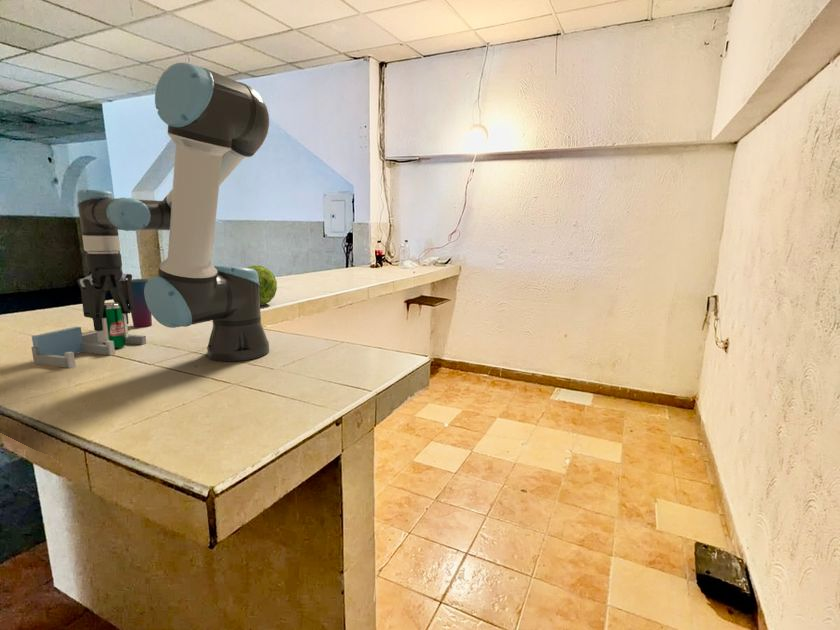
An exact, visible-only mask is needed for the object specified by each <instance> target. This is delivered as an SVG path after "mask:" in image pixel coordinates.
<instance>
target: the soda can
mask: <svg viewBox="0 0 840 630" xmlns="http://www.w3.org/2000/svg"><path fill="white" fill-rule="evenodd" d="M103 318H106V320H107V328H108V336H109V341H114V349H115V350H118V349H122V348H125V347H126V345H127V343H126V340H125V332H124V324H123V315H122V307H121V306H120V305H119V303H116V302H114V301H113V302H105V304H104V312H103ZM103 345H106V343H103Z"/></svg>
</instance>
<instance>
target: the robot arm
mask: <svg viewBox="0 0 840 630" xmlns="http://www.w3.org/2000/svg"><path fill="white" fill-rule="evenodd" d="M154 106H155V108H156V109H157V115H158V116H159V118H160V119H161V120H162V121H163V122H164V123H165V125H167V135H168V137H169V138H170V139H171V140H172V141H173V143H174V145H175V147H174V148H175V149H174V150H175V151H174V165H173V179H172V180H173V181H172V189H171V190H170V191H169V192H168V193H167V195H166V196H165V197H164V198H163V199H162V200H151V199H139V198H138V199H135V198H132V197H119V198H115V195H114V193H113V192H112V191H109V190H102V189H101V190H100V189H79V190H78V191H77V195H76V196H77V205H76V206H77V208H78V214H79V215H78V216H79V223H80V230H81V235H82V243H83V251H85V252H86V253H85V254H84V259H85V260H84V261H85V266H86V267H87V269H88V273H87V276H86V277H83V278H78V279H77V280H76V281H77V284H78V286H79V288H80V293H81V302H82V303H81V304H82V312H83V316H84V318H89V319H92V323H93V329H94V332H96V331H97V336H98V342H101V343H105V342H106V341H109V336H108V328H107V320H106V318H103V312H104V304H105V303H106V294H107V293H108V291H110V295H111V296H112V300H113V302H116V303H119V305H120V306H121V307H122V315H123V324H124V332H125V338H127V337H129V336H128V334H129V329H128V324H129V315H128V314H131V310H133V309H134V302H133V294H132V286H131V280H132V279H133V275H132V274H131V273H123V271H122V269H121V267H122V266H123V260H122V254H121V253H120V251H121V245H120V236H119V231H127V232H128V231H131V232H133V231H134V232H135V231H169V234H168V235H169V236H168V237H169V238H168V248H167V250H168V251H167V258H166V259H164V260H163V261H162V262H160V263H159V264H158V275H156V276H152V277H151V278H148V279H149V280H148V282H146V284H145V288H144V295H145V300H146V304H147V306H148V309H149V311H150V312H151V314H152V317H153V318H154V319H155V321H157V322H158V323H159V324H160V325H162V326H164V327H166V328H170V329H173V328H174V329H176V328H180V327H184V328H186V327H190V326H192V325H196V324H201V323H205V322H206V323H207V322H210V321H211V322H212V328H211V332H210V337H209V339H208V340H209V341H208V345H207V347H206V350H207V352H206V353H207V357H208V358H209V359H211V360H213V361H218V362H240V361H241V362H242V361H249V360H254V359H258V358H260V357H264V356H265V354H266V355H268V353H270V342H269V340H268V338H267V336H266V332H265V330H264V327H263V324H262V318H261V316H262V315H261V305H260V283H259V278H258V273H257V271H256V270H254V269H252V268H247V267H240V266H228V265H216V264H215V265H214V264H212V258H213V249H214V241H215V240H214V239H215V229H216V219H217V211H218V210H217V209H218V201H219V194H220V193H219V191H220V186H221V185H222V184H223V182H224V181H225V180H227V178H228V177H229V176H230V175H231V174H232V173H233V171H234V170H235V169H236V168H237V167H238V166H239V164H240V163H242V161H243V160H244V159H245V158H252V157H253V156H254V155H255V154H256V152H258V150H259V149H260V148H261V146H262V145H263V144H264V142H265V140H266V138H267V136H268V134H269V128H270V115H269V111H268V106H267V105H266V103H265V101H264V99H263V97H262V96H261V95H260V94H259V92H257V91H256V90H255V89H254V88H253V87H251V86H250V85H248V84H246V83H244V82H241V81H236V80H234V79H231V78H229V77H227V76H224V75H222V74H220V73H217V72H215V71H213V70H210V69H207V68H205V67H203V66H198V65H194V64H190V63H187V62H176V63H173V64H171V65H170V66H168V67H167V69H166V70H165V71H163V72H162V74H161V76H160V77H159V79H158V81H157V84H156V86H155V92H154ZM263 355H264V356H263Z"/></svg>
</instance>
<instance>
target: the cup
mask: <svg viewBox="0 0 840 630" xmlns="http://www.w3.org/2000/svg"><path fill="white" fill-rule="evenodd" d="M149 279H150V278H132V280H131V286H132V294H133V302H134V309H133V310H131V313H130V314H131V320H132V325H133V327H134V328H136V329H137V328H138V329H140V328H141V329H143V328H148V327H151V326H152V325H153V324H152V323H153V319H152V317H153V315H152V314H151V312H150V311H149V309H148V306H147V304H146V300H145V295H144V288H145V284H146V282H148V280H149Z"/></svg>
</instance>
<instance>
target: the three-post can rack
mask: <svg viewBox="0 0 840 630" xmlns="http://www.w3.org/2000/svg"><path fill="white" fill-rule="evenodd" d="M128 336H129V337H127V338H125V340H126V344H135V345H140V346H141V345H146V344H147V337H146V335H139V334H129V333H128ZM31 342H32V346H31V348H30V349H31V353H32V359H33V363H34V364H36V365H45V366H52V367H59V368H60V367H61V368H67V369H71V368H75V367H76V360H75V354H79V353H88V354H94V355H95V354H96V355H97V354H98V355H105V356H113V355H116V351H115V350H116V349H114V341H106V342H105V343H106V345H103V343H101V342H98V336H97V331H93V332H92V331H91V332H88V333H84V334H83V332H82V327H81V326H73V327H68V328H64V329H59V330H56V331H55V330H54V331H50V332H45V333H42V334H41V333H40V334H35V335H31Z"/></svg>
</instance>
